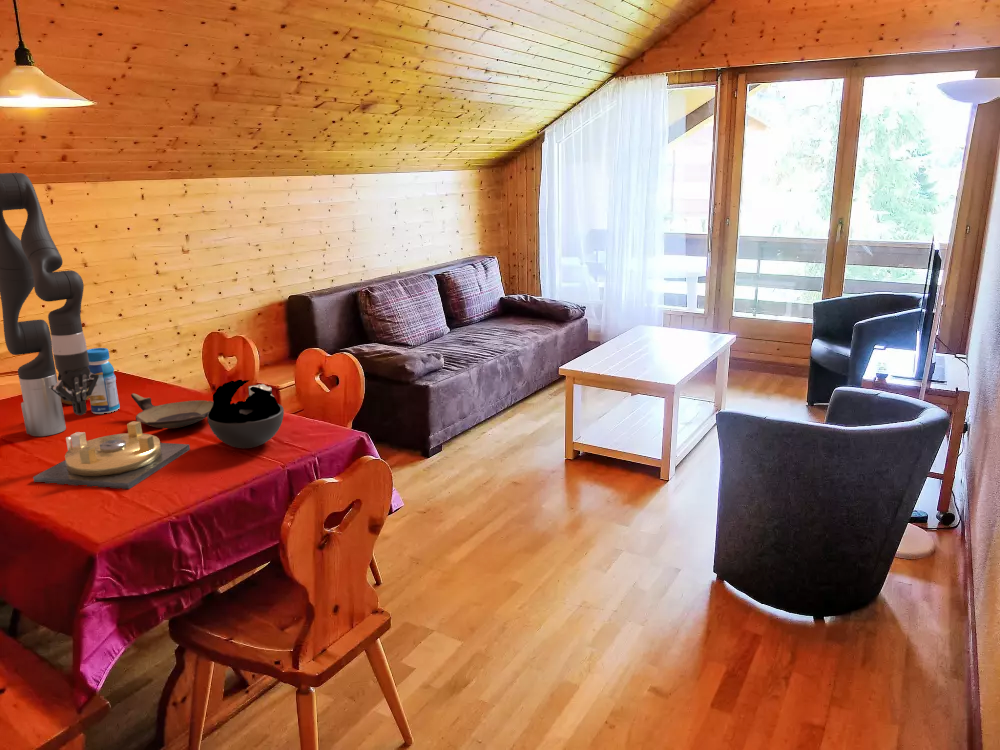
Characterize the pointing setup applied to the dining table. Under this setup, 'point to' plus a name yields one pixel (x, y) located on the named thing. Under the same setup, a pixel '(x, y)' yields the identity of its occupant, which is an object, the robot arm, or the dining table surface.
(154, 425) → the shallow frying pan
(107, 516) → the dining table surface
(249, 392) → the pneumatic valve
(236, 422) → the bowl of black rocks
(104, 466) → the round brass tray
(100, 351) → the beverage bottle
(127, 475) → the base plate
